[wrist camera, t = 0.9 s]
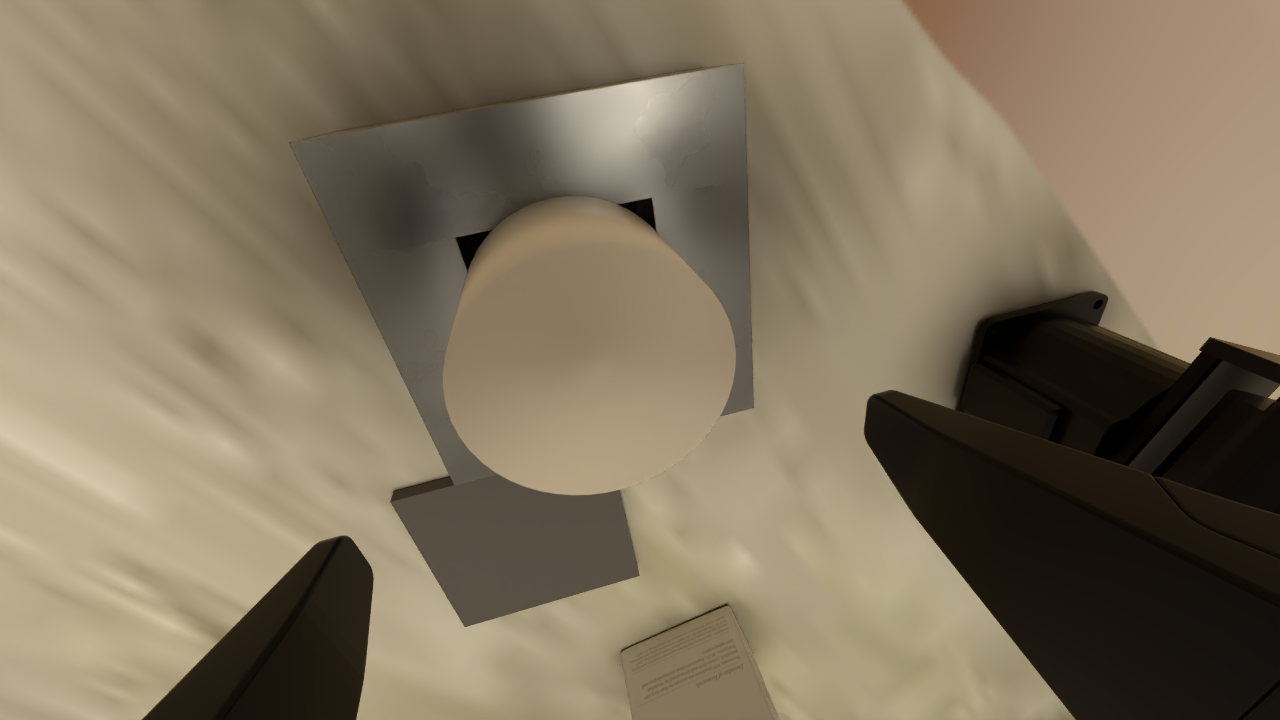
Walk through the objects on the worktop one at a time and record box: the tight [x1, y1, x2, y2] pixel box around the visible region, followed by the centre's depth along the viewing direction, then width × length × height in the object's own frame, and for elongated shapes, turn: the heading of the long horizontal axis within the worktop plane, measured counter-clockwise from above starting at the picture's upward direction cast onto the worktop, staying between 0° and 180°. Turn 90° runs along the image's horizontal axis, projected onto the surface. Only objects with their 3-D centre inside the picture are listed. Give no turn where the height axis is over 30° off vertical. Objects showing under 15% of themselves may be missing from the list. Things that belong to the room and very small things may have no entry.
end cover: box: [443, 196, 736, 495], centre depth 14 cm, size 6×6×7 cm
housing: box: [289, 63, 754, 486], centre depth 16 cm, size 11×11×3 cm
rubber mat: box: [390, 474, 640, 627], centre depth 22 cm, size 9×9×1 cm
